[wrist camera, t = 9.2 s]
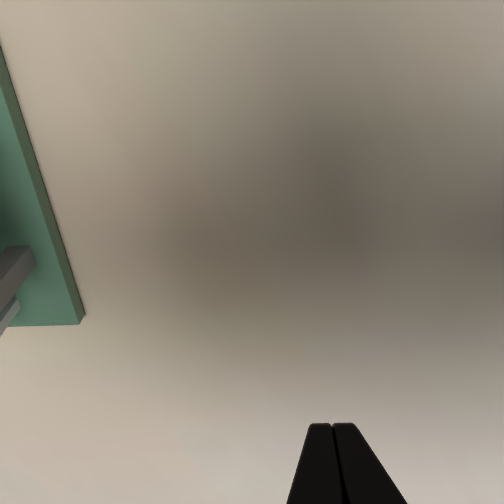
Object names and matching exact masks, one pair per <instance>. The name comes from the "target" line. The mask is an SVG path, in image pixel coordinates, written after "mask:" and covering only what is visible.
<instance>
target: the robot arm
mask: <svg viewBox="0 0 504 504" xmlns="http://www.w3.org/2000/svg"><path fill="white" fill-rule="evenodd" d="M286 504H407V502H406V501H405V499H404V498H403V496H402V494H401V493H400V491H399V490H398V488H397V487H396V485H395V484H394V482H393V481H392V479H391V478H390V476H389V475H388V473H387V472H386V470H385V469H384V467H383V466H382V464H381V463H380V461H379V460H378V458H377V457H376V455H375V454H374V452H373V451H372V449H371V448H370V446H369V445H368V443H367V442H366V440H365V439H364V437H363V435H362V434H361V432H360V431H359V429H358V428H357V427H356V426H355V424H353V423H334V424H333V425H332V426H331V424H329V423H312V424H311V425H310V426H309V428H308V432H307V435H306V439H305V442H304V445H303V449H302V452H301V456H300V459H299V462H298V466H297V469H296V473H295V476H294V479H293V483H292V486H291V490H290V493H289V496H288V500H287V503H286Z"/></svg>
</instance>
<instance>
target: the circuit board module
mask: <svg viewBox="0 0 504 504" xmlns="http://www.w3.org/2000/svg"><path fill="white" fill-rule="evenodd" d="M84 315H85V313H84V310H83V307H82V304H81V300H80V297H79V294H78V291H77V288H76V285H75V281H74V278H73V275H72V272H71V269H70V266H69V263H68V259H67V256H66V253H65V250H64V247H63V244H62V240H61V237H60V234H59V231H58V228H57V225H56V222H55V218H54V215H53V212H52V209H51V206H50V203H49V199H48V196H47V193H46V190H45V187H44V184H43V181H42V177H41V174H40V171H39V168H38V165H37V162H36V158H35V155H34V152H33V149H32V146H31V143H30V140H29V136H28V133H27V130H26V127H25V124H24V121H23V117H22V114H21V111H20V108H19V105H18V102H17V99H16V95H15V92H14V89H13V86H12V83H11V80H10V76H9V73H8V70H7V67H6V64H5V61H4V58H3V54H2V51H1V48H0V336H1V335H2V334H3V332H4V331H5V329H6V328H7V327H14V326H50V325H79V324H80V322H81V320H82V319H83V317H84Z"/></svg>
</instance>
